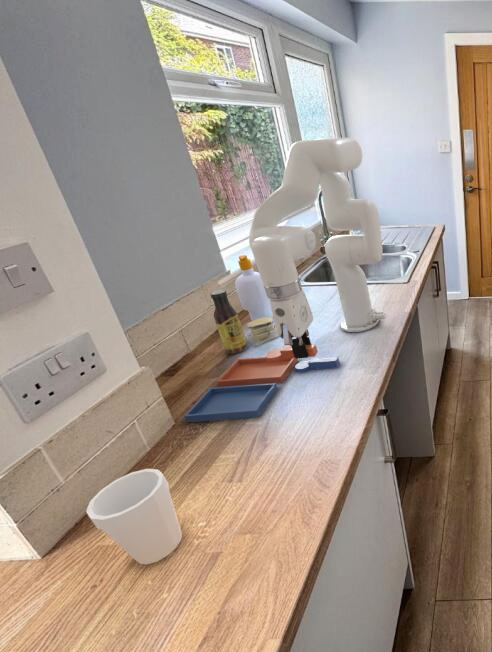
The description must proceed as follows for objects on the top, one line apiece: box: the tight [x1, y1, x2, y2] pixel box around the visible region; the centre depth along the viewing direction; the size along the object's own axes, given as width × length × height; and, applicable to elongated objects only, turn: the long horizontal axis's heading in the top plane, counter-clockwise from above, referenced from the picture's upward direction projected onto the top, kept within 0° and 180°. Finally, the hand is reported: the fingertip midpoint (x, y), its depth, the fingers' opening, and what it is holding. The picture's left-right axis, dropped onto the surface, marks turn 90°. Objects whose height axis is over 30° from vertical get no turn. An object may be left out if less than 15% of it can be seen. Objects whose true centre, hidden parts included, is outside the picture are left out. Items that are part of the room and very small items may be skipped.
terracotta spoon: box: [264, 343, 319, 362], centre depth 102 cm, size 12×4×2 cm, turn 94°
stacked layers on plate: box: [245, 317, 280, 347], centre depth 135 cm, size 10×9×6 cm
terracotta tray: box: [216, 356, 299, 387], centre depth 115 cm, size 17×11×2 cm, turn 93°
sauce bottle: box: [209, 289, 248, 355], centre depth 125 cm, size 7×6×20 cm
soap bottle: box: [234, 254, 274, 322], centre depth 143 cm, size 10×10×24 cm
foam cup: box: [85, 468, 183, 565], centre depth 66 cm, size 10×9×13 cm
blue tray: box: [183, 383, 279, 424], centre depth 103 cm, size 17×11×2 cm, turn 93°
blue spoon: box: [294, 356, 341, 373], centre depth 117 cm, size 12×4×2 cm, turn 93°
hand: (304, 353), depth 102 cm, fingers closed on terracotta spoon, 2 cm apart
